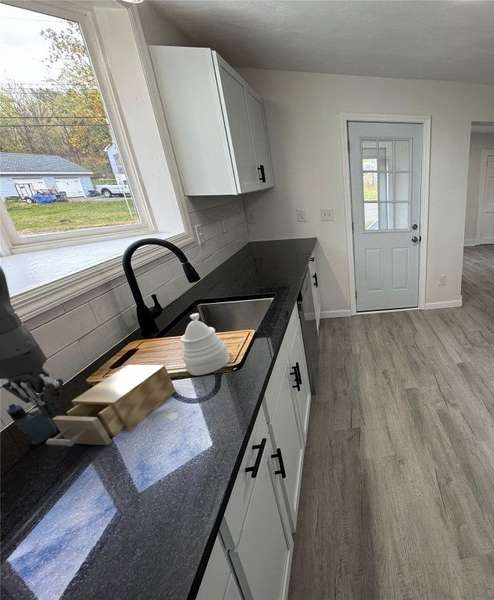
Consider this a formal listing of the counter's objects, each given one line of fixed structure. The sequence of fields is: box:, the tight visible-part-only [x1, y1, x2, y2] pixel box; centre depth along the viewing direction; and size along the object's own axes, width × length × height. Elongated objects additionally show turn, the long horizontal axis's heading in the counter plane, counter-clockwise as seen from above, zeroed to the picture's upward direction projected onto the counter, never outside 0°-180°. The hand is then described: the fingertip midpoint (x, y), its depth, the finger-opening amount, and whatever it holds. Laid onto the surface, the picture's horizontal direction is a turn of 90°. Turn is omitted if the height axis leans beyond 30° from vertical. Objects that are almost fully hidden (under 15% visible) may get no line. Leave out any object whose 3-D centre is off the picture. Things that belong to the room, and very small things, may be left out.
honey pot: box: [180, 312, 231, 376], centre depth 105 cm, size 13×13×18 cm
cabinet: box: [71, 364, 177, 432], centre depth 87 cm, size 16×13×10 cm
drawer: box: [45, 404, 125, 447], centre depth 80 cm, size 19×11×8 cm, turn 173°
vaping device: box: [6, 403, 57, 446], centre depth 79 cm, size 3×5×12 cm, turn 166°
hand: (54, 414), depth 71 cm, fingers closed
